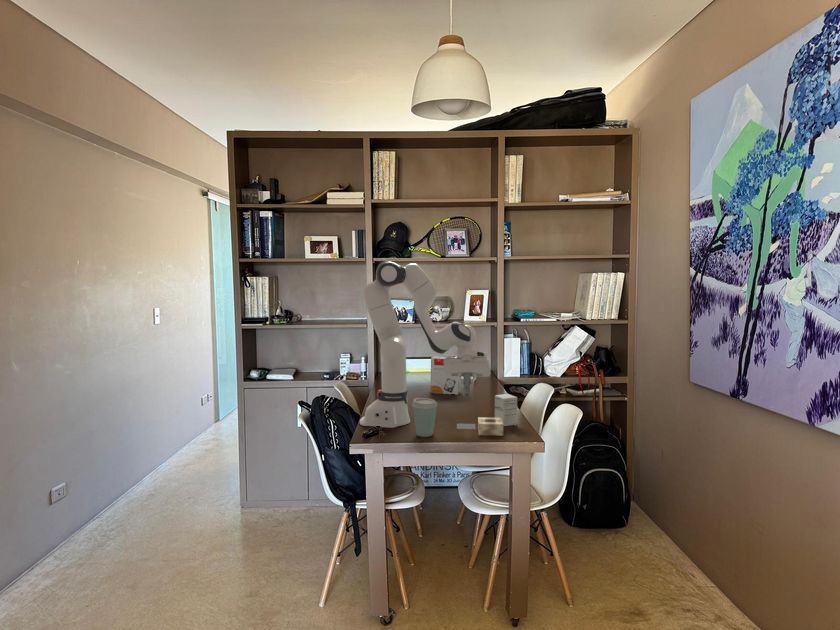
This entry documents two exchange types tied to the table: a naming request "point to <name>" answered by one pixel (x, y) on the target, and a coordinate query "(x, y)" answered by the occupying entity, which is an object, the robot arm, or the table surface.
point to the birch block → (490, 426)
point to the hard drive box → (442, 378)
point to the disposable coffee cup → (424, 416)
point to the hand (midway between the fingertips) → (467, 383)
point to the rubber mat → (466, 426)
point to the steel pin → (467, 384)
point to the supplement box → (506, 409)
